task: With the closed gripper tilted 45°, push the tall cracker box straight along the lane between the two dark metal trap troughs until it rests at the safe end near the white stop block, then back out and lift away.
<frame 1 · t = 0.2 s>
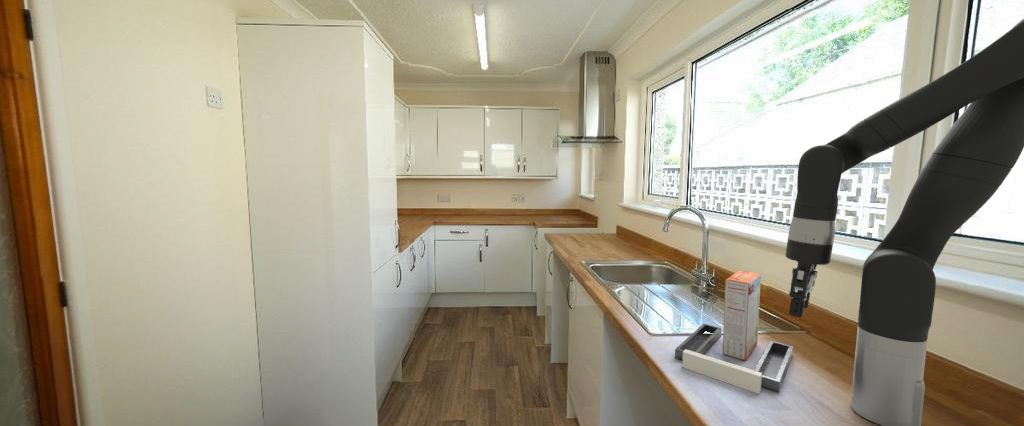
hand: (798, 311, 78), 18 cm above the worktop, tool pointing down, fingers open, 8 cm apart
cracker box: (739, 350, 98), on the worktop
trap troughs: (734, 356, 94), on the worktop
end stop: (719, 378, 83), on the worktop
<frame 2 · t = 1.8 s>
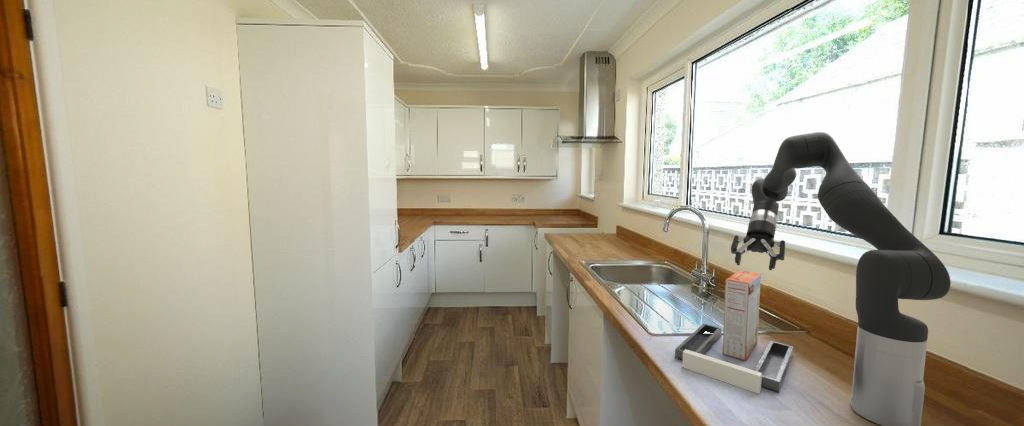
hand: (753, 266, 111), 20 cm above the worktop, tool tilted 45°, fingers open, 8 cm apart
nothing on the worktop moved.
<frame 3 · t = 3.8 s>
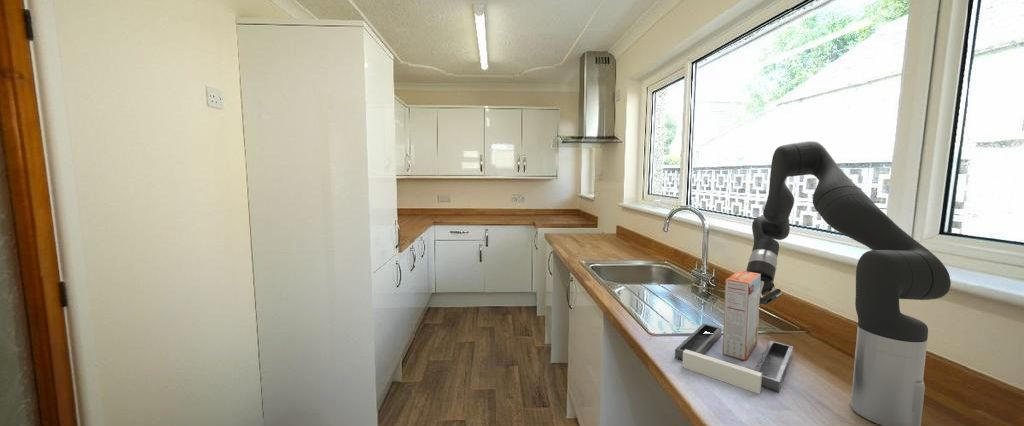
hand: (751, 312, 106), 7 cm above the worktop, tool tilted 45°, fingers closed
nothing on the worktop moved.
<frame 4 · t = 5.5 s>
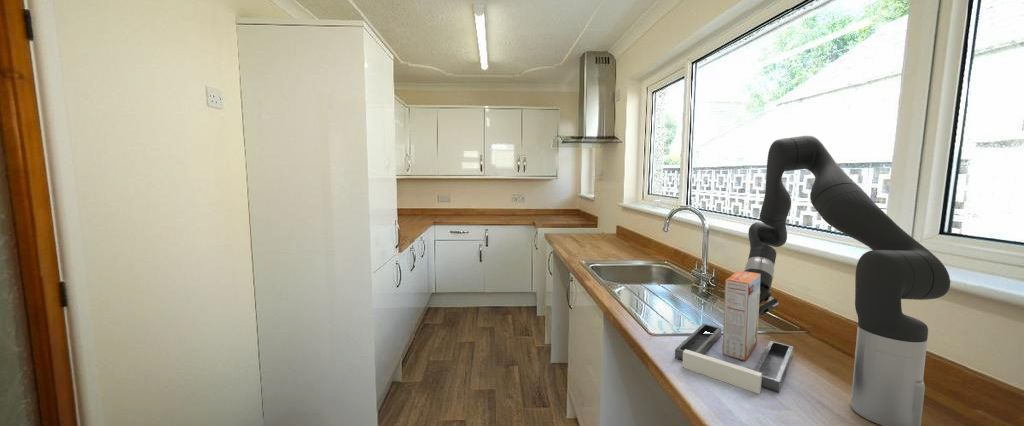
hand: (747, 323, 103), 5 cm above the worktop, tool tilted 45°, fingers closed
cracker box: (739, 350, 98), on the worktop, touching gripper
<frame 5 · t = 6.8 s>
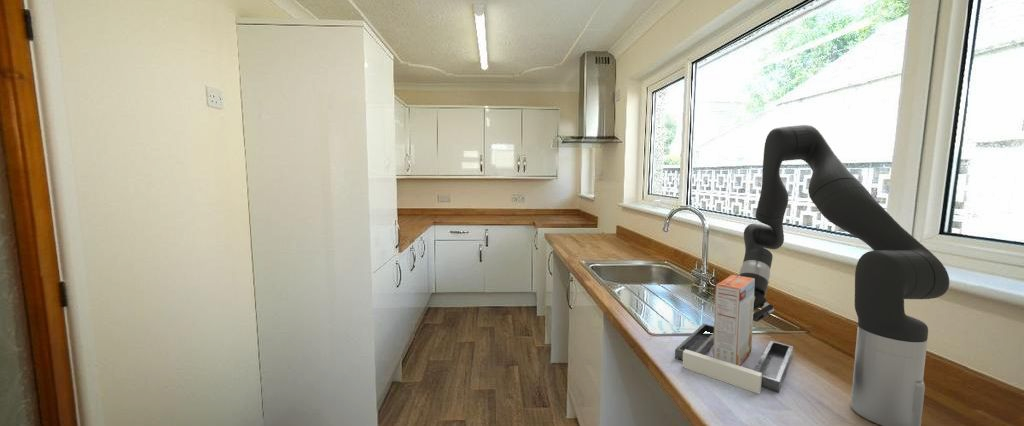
hand: (741, 330, 98), 5 cm above the worktop, tool tilted 45°, fingers closed
cracker box: (731, 358, 93), on the worktop, touching gripper
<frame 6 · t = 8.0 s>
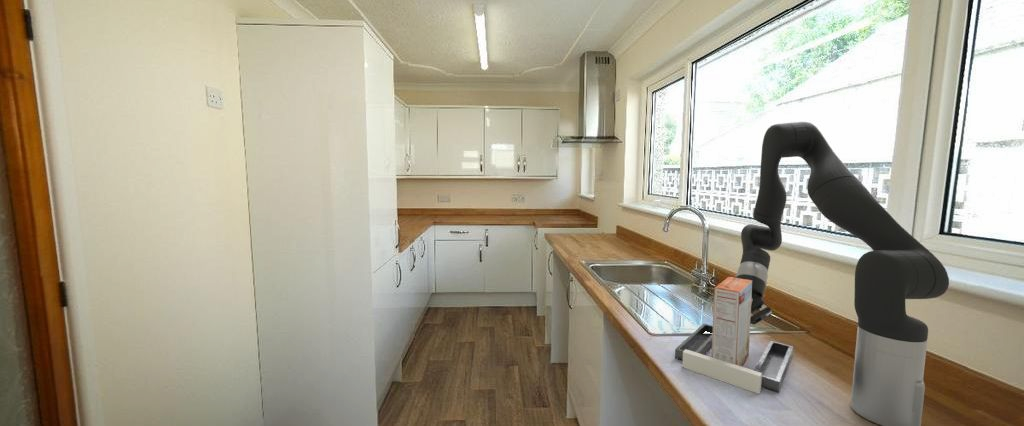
hand: (738, 333, 96), 5 cm above the worktop, tool tilted 45°, fingers closed
cracker box: (729, 363, 91), on the worktop, touching gripper
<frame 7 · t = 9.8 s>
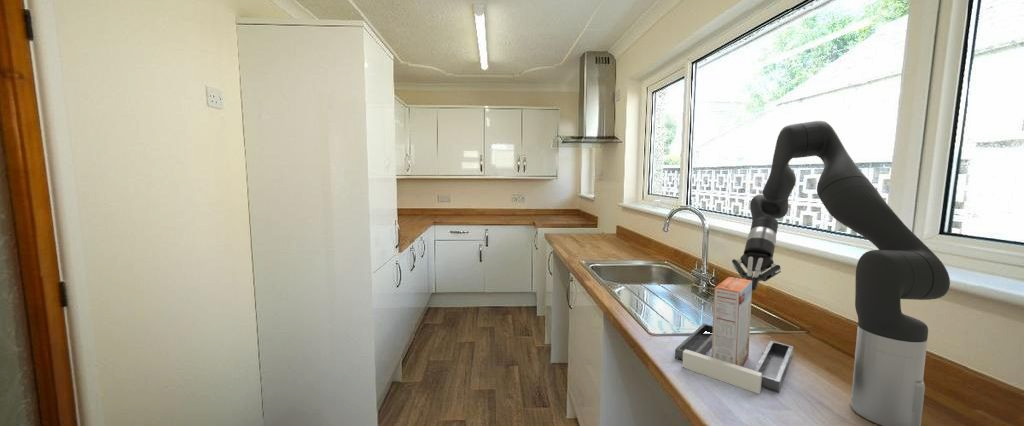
hand: (750, 289, 104), 15 cm above the worktop, tool tilted 45°, fingers closed
cracker box: (729, 363, 91), on the worktop
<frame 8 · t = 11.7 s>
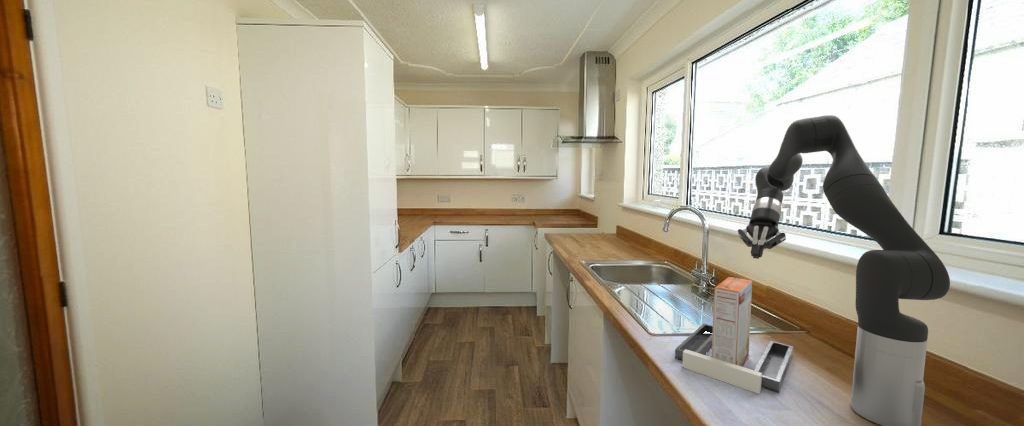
hand: (755, 256, 107), 24 cm above the worktop, tool tilted 45°, fingers closed
nothing on the worktop moved.
at the end: cracker box inside the target area (0.2 cm from its centre), on the worktop; cracker box tilted 0°; cracker box touching worktop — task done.
